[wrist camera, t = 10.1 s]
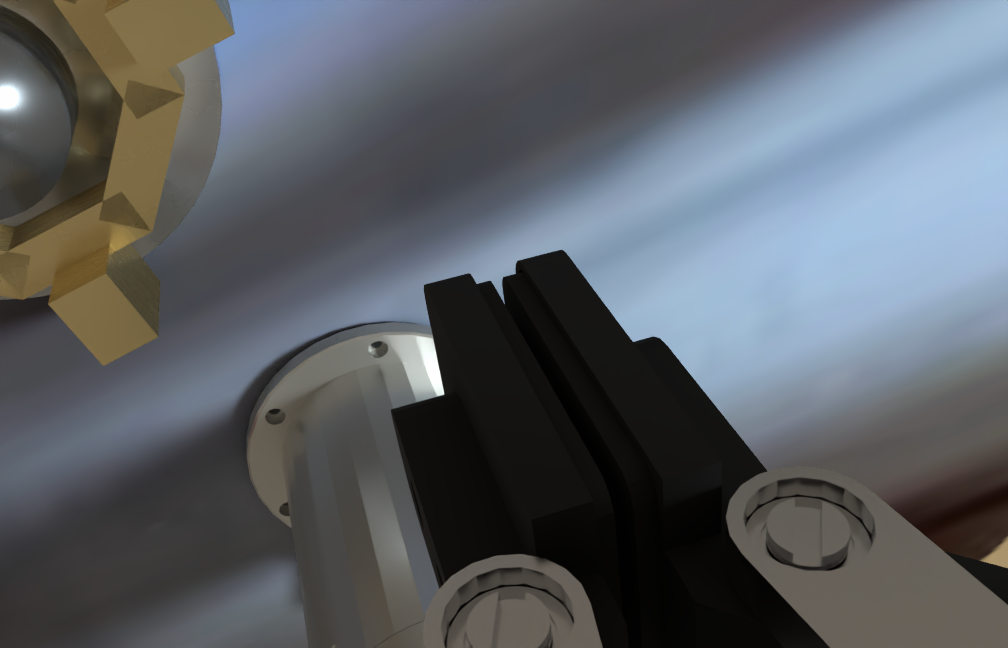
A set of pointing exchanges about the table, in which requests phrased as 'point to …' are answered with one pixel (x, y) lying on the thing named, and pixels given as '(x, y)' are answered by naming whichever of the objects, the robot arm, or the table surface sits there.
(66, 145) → the flange
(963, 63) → the table surface
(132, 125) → the locking ring
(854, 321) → the table surface
